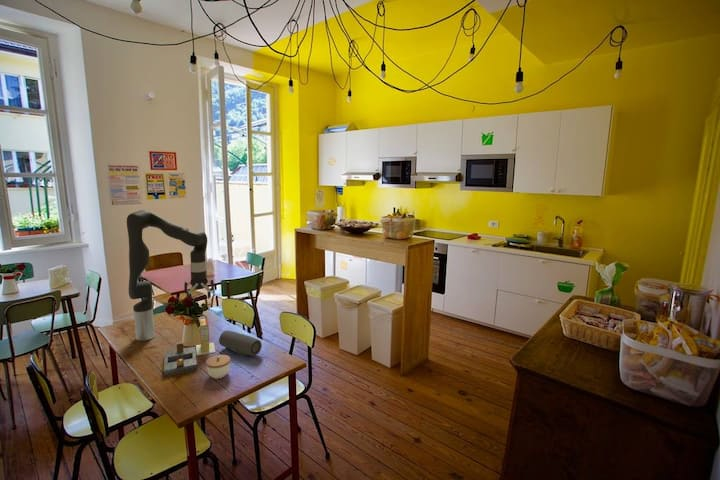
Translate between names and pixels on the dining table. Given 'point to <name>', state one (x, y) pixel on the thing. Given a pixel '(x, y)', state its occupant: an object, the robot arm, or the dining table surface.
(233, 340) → the bluetooth speaker
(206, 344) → the candy box
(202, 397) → the dining table surface
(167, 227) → the robot arm
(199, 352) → the felt pad
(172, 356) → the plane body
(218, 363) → the lidded jar
